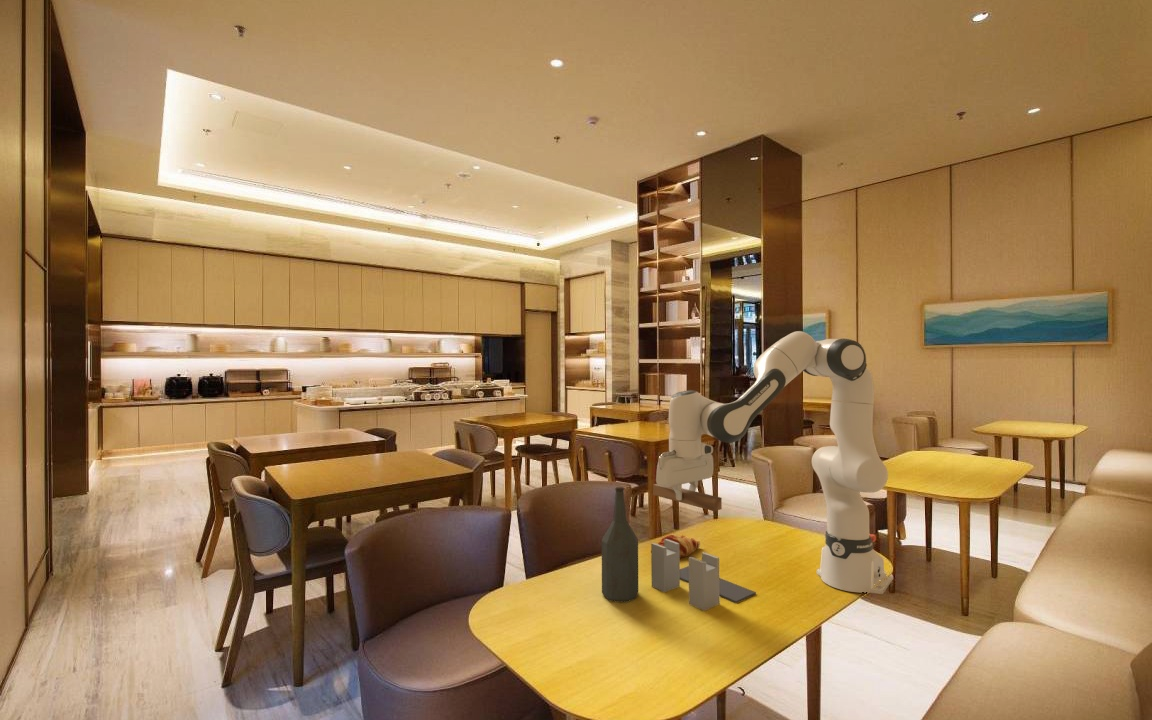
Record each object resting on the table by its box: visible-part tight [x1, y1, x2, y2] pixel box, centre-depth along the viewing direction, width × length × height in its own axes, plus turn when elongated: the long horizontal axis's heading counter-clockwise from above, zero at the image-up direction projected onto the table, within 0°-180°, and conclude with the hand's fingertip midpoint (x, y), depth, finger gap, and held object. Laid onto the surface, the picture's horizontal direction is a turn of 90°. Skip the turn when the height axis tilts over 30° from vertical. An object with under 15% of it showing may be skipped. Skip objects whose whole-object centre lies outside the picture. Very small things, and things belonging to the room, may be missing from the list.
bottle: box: [601, 486, 639, 603], centre depth 146 cm, size 10×10×30 cm
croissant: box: [657, 534, 701, 558], centre depth 177 cm, size 21×10×8 cm, turn 122°
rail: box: [652, 483, 723, 512], centre depth 146 cm, size 3×22×3 cm, turn 37°
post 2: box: [688, 552, 721, 612], centre depth 140 cm, size 6×5×12 cm
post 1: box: [650, 539, 681, 593], centre depth 151 cm, size 6×5×12 cm
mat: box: [680, 565, 757, 604], centre depth 152 cm, size 9×24×1 cm, turn 37°
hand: (685, 498), depth 146 cm, fingers closed on rail, 3 cm apart
